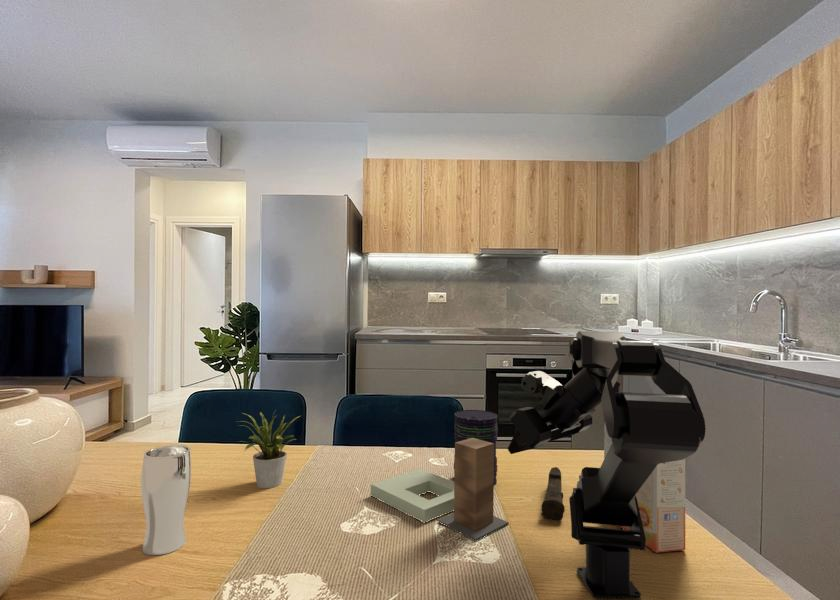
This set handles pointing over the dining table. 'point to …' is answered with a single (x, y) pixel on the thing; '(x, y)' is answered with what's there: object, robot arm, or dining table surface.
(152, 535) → the beer glass
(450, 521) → the rubber mat
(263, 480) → the house plant
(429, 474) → the square socket block
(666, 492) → the cracker box
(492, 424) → the storage jar
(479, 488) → the wooden block
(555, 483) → the hand tool
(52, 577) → the dining table surface
